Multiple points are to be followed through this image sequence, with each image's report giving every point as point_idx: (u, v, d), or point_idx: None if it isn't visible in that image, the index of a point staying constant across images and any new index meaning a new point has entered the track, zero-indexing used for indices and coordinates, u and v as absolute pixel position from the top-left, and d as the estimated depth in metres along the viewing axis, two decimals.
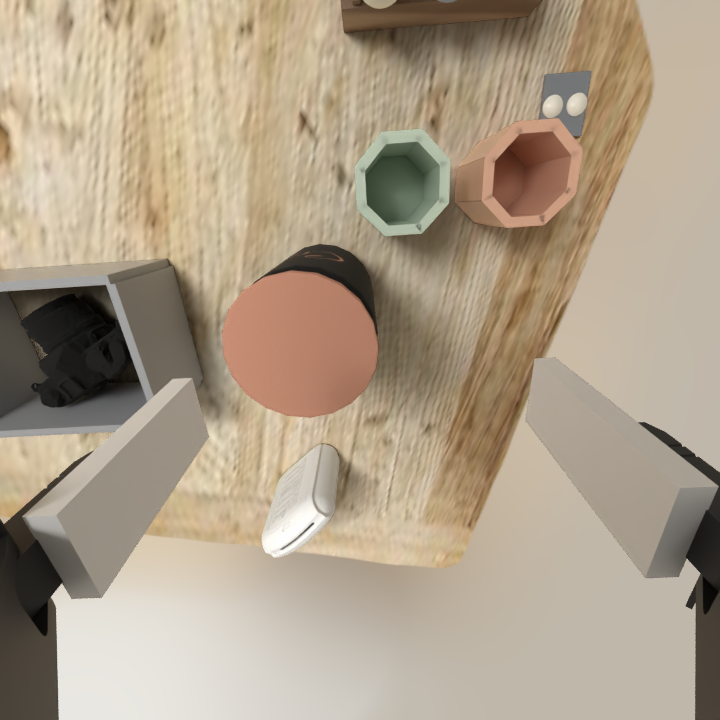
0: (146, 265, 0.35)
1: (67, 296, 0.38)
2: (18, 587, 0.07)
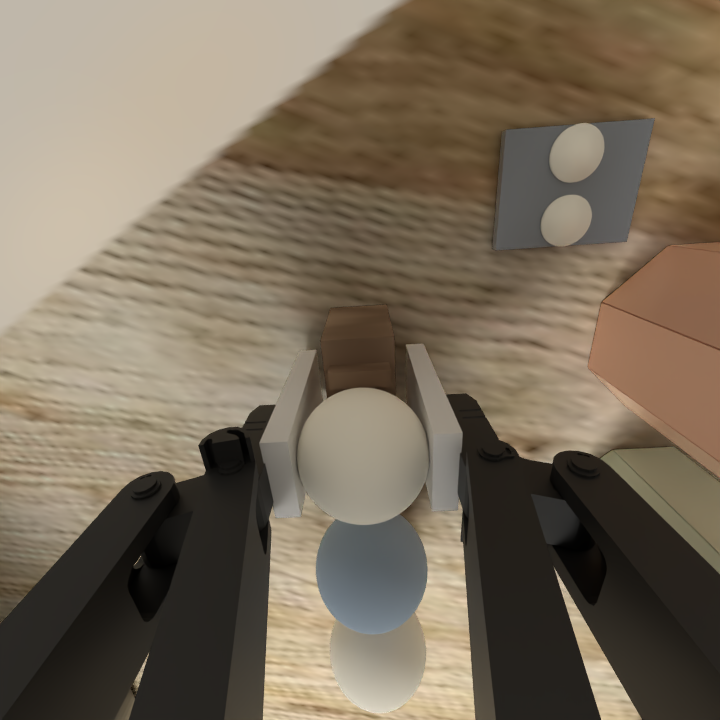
0: None
1: None
2: None
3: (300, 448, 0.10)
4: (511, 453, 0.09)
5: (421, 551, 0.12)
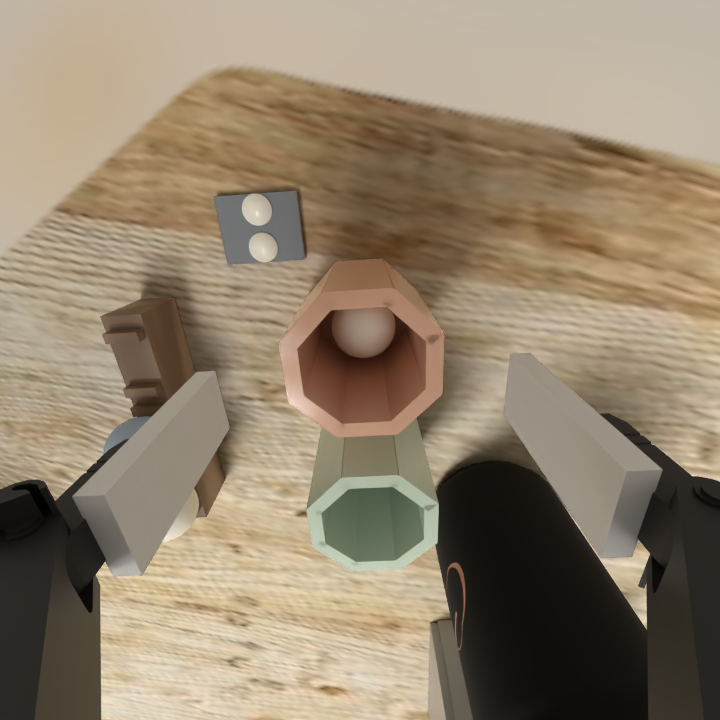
0: (438, 668, 0.35)
1: None
2: (68, 564, 0.08)
3: (334, 319, 0.21)
4: None
5: None
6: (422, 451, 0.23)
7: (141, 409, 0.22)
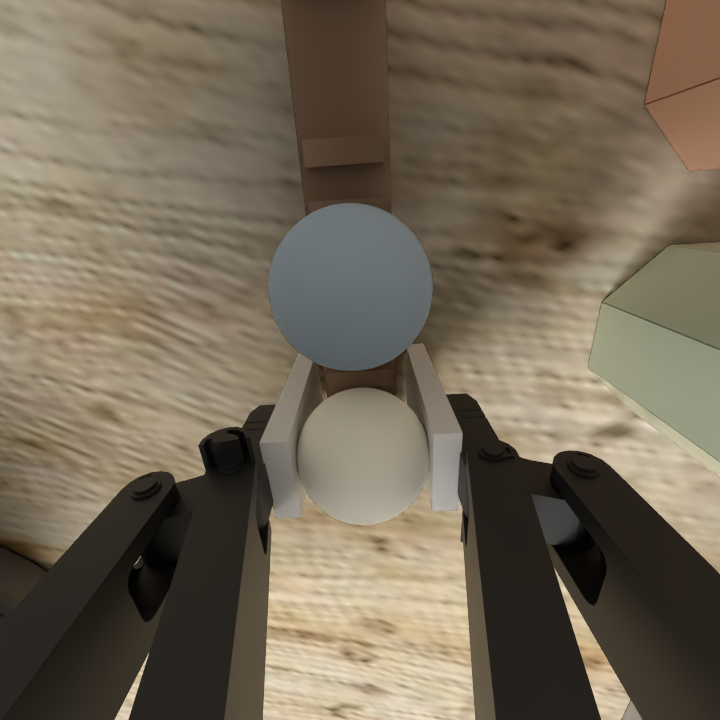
0: None
1: None
2: None
3: None
4: (511, 453, 0.09)
5: None
6: None
7: (335, 203, 0.09)
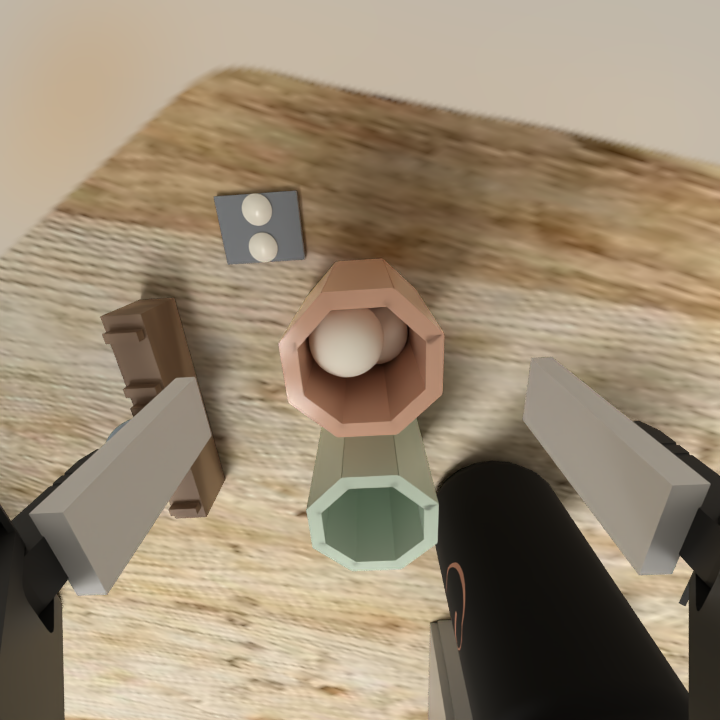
0: (438, 668, 0.35)
1: None
2: (25, 584, 0.07)
3: None
4: None
5: None
6: (422, 451, 0.23)
7: (141, 409, 0.22)
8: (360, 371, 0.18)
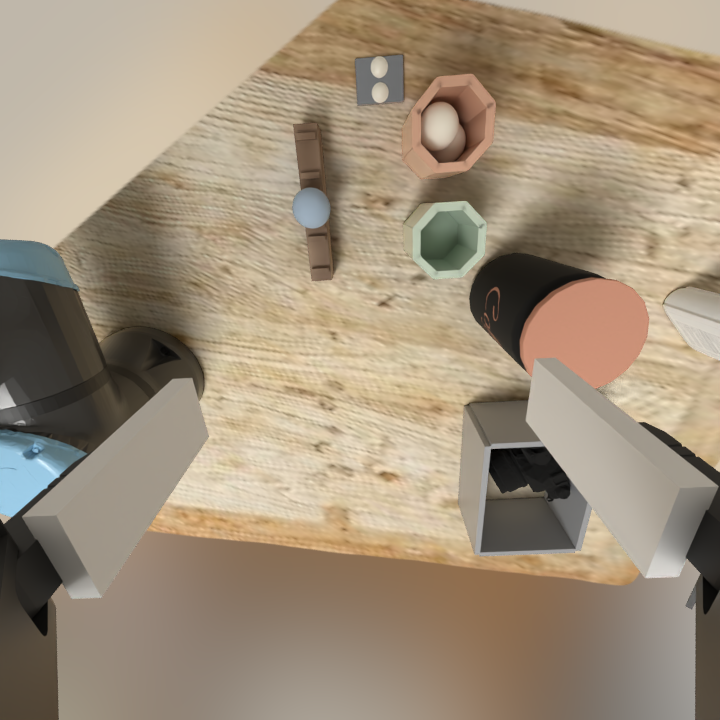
0: (472, 420, 0.50)
1: None
2: (18, 587, 0.07)
3: None
4: None
5: (327, 198, 0.37)
6: None
7: None
8: (447, 139, 0.34)
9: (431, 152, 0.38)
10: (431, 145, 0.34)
